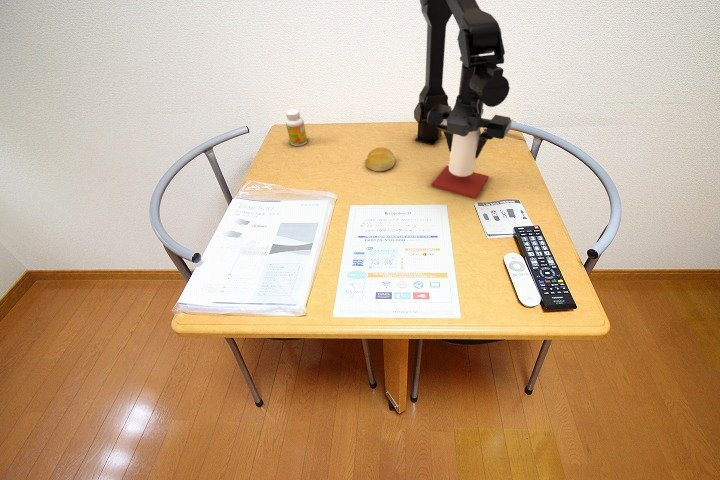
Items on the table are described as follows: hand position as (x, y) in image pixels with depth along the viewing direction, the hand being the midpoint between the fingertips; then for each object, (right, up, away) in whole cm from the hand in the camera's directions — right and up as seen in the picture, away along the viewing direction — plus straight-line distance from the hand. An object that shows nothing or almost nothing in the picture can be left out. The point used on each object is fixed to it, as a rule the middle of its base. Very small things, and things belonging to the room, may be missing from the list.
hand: (463, 154), depth 91 cm
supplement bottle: (-47, +11, +25) cm, 55 cm away
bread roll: (-21, +1, +14) cm, 25 cm away
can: (0, -3, +3) cm, 5 cm away
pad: (0, -6, +6) cm, 8 cm away
